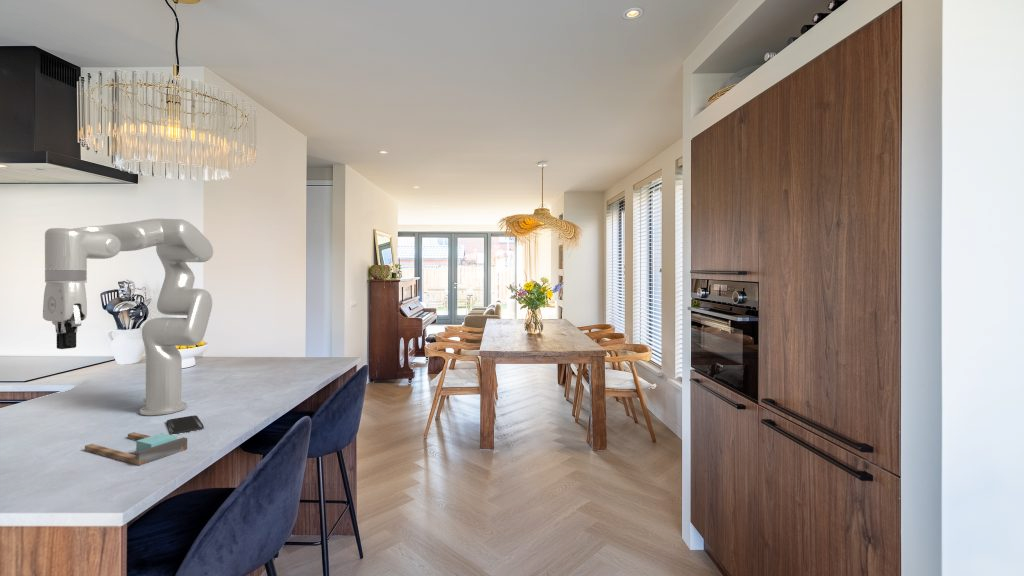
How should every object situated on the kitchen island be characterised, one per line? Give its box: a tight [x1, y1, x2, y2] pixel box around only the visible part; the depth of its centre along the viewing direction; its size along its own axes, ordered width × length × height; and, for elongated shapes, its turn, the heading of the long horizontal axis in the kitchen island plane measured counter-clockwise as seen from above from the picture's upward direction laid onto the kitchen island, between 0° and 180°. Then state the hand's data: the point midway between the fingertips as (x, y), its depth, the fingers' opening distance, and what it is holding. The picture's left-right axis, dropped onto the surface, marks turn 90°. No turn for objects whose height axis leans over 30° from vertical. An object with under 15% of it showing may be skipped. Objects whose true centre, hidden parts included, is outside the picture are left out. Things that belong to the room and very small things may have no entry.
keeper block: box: [135, 432, 178, 453], centre depth 113 cm, size 6×6×4 cm
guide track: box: [84, 432, 188, 467], centre depth 115 cm, size 23×11×3 cm, turn 69°
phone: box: [166, 414, 205, 435], centre depth 134 cm, size 8×1×15 cm
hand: (66, 348), depth 112 cm, fingers closed
